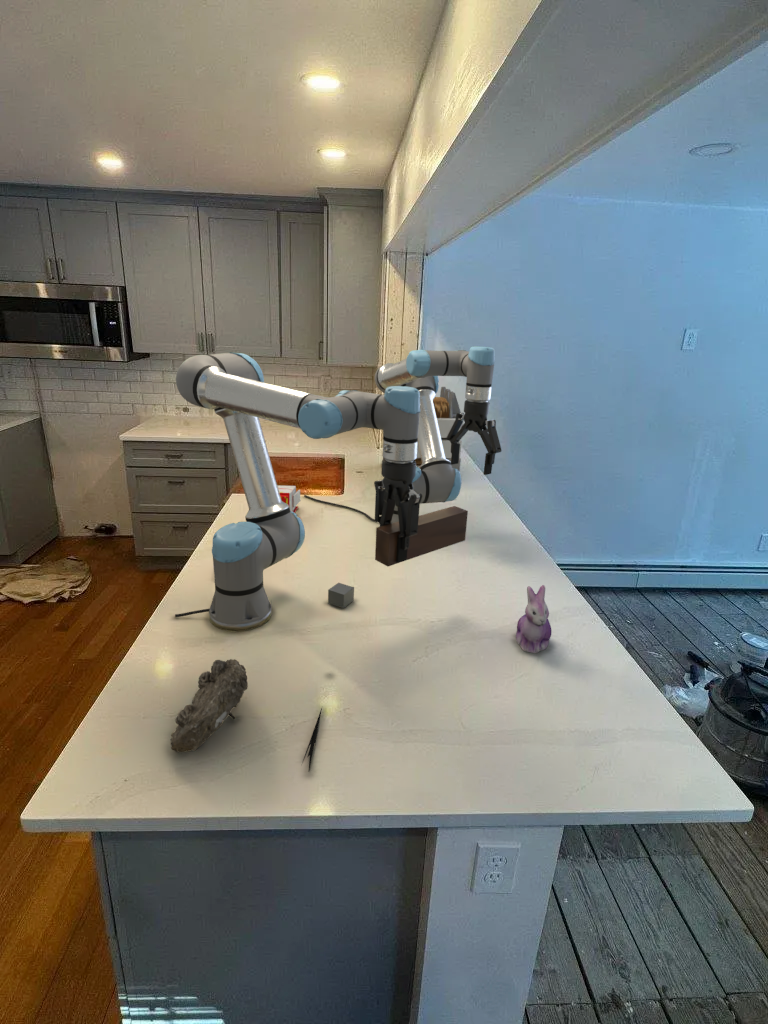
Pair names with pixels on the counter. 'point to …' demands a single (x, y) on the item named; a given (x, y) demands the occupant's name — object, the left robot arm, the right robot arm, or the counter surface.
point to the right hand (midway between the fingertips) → (470, 468)
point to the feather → (313, 740)
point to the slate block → (341, 595)
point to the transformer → (445, 422)
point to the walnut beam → (423, 535)
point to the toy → (290, 496)
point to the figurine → (534, 623)
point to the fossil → (210, 704)
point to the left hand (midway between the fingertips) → (393, 557)
